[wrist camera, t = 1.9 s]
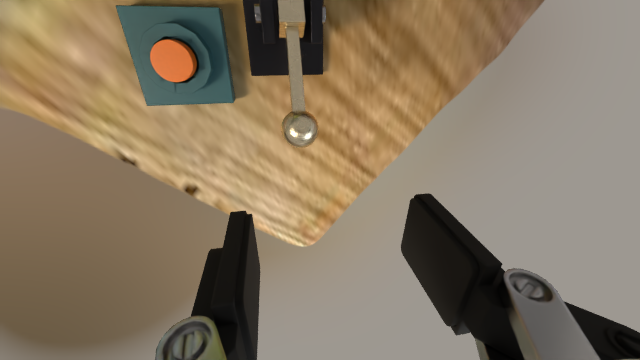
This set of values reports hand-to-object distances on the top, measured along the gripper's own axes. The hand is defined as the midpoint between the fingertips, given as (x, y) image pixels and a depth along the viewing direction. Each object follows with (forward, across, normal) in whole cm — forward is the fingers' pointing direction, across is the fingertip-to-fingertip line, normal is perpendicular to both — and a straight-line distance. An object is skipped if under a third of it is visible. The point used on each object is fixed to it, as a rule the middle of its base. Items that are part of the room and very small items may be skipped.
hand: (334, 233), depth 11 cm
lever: (+18, 0, -3) cm, 18 cm away
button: (+25, +12, -5) cm, 28 cm away
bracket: (+29, 0, -9) cm, 30 cm away
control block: (+29, +12, -5) cm, 31 cm away
